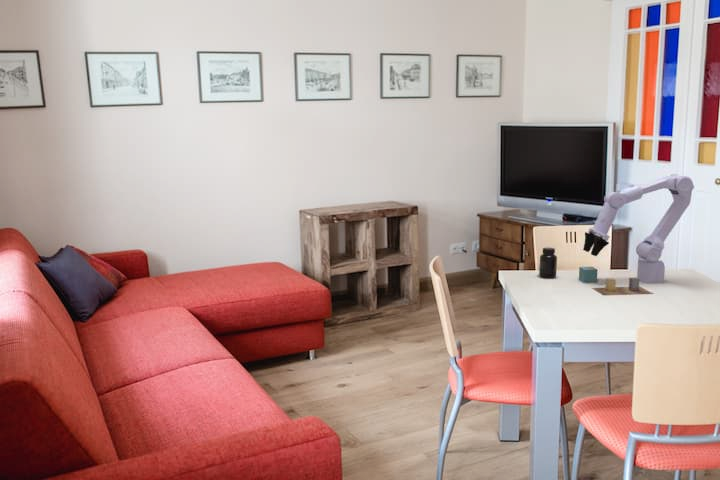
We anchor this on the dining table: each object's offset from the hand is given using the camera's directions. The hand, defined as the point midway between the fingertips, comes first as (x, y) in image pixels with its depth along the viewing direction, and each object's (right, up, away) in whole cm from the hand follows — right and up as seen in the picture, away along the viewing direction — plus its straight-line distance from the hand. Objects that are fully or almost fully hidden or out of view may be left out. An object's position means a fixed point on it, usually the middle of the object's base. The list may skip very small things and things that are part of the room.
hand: (589, 253), depth 260 cm
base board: (+8, -15, -13) cm, 21 cm away
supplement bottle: (-13, -10, +14) cm, 21 cm away
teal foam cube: (0, -12, +3) cm, 12 cm away
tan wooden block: (+3, -14, -13) cm, 19 cm away
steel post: (+12, -14, -13) cm, 22 cm away
